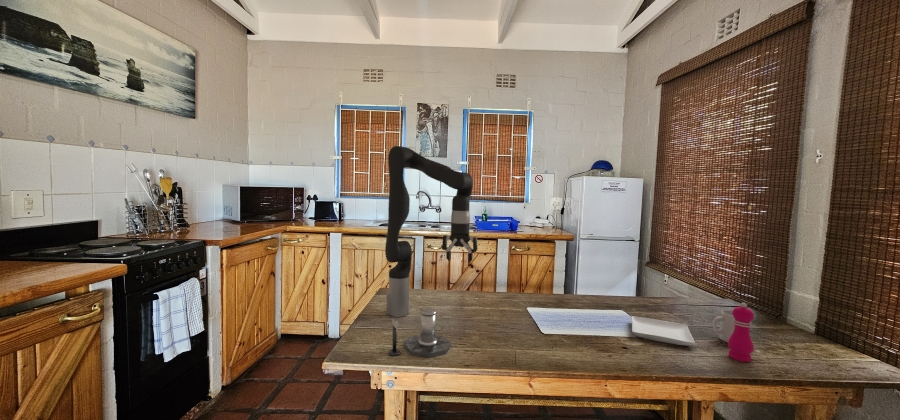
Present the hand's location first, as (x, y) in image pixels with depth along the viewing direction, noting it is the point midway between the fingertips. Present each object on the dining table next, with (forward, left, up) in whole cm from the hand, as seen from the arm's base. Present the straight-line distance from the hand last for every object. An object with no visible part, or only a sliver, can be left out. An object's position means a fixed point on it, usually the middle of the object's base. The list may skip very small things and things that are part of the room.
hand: (459, 261), depth 149 cm
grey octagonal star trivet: (-6, -20, -28) cm, 35 cm away
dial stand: (-14, -28, -28) cm, 42 cm away
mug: (+105, +25, -28) cm, 112 cm away
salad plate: (+80, +22, -29) cm, 88 cm away
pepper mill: (+102, +8, -28) cm, 106 cm away
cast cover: (-6, -20, -27) cm, 34 cm away
